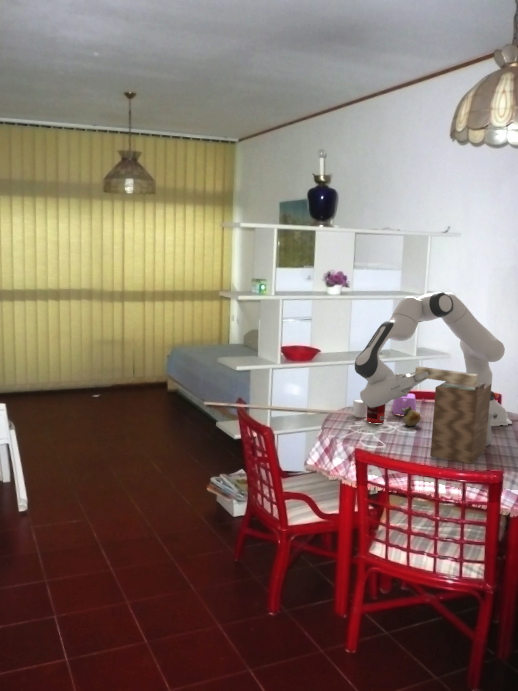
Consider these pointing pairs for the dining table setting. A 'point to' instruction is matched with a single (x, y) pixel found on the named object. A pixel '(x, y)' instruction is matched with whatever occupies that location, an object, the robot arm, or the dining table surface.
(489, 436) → the salt shaker
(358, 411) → the white cylinder
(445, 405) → the walnut shelf
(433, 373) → the birch rod
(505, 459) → the dining table surface
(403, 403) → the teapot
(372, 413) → the canned food
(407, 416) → the onion
